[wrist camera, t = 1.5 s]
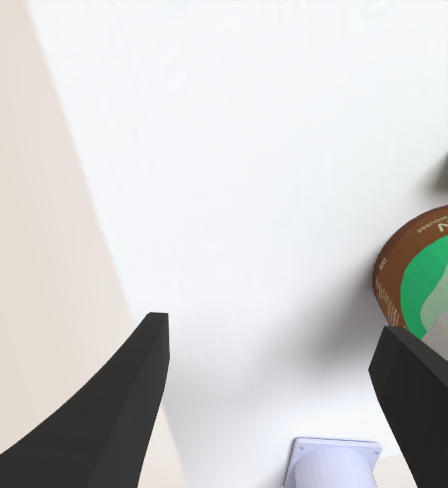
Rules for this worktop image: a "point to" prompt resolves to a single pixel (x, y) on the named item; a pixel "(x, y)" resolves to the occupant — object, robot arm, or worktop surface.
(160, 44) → the worktop surface
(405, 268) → the food container
